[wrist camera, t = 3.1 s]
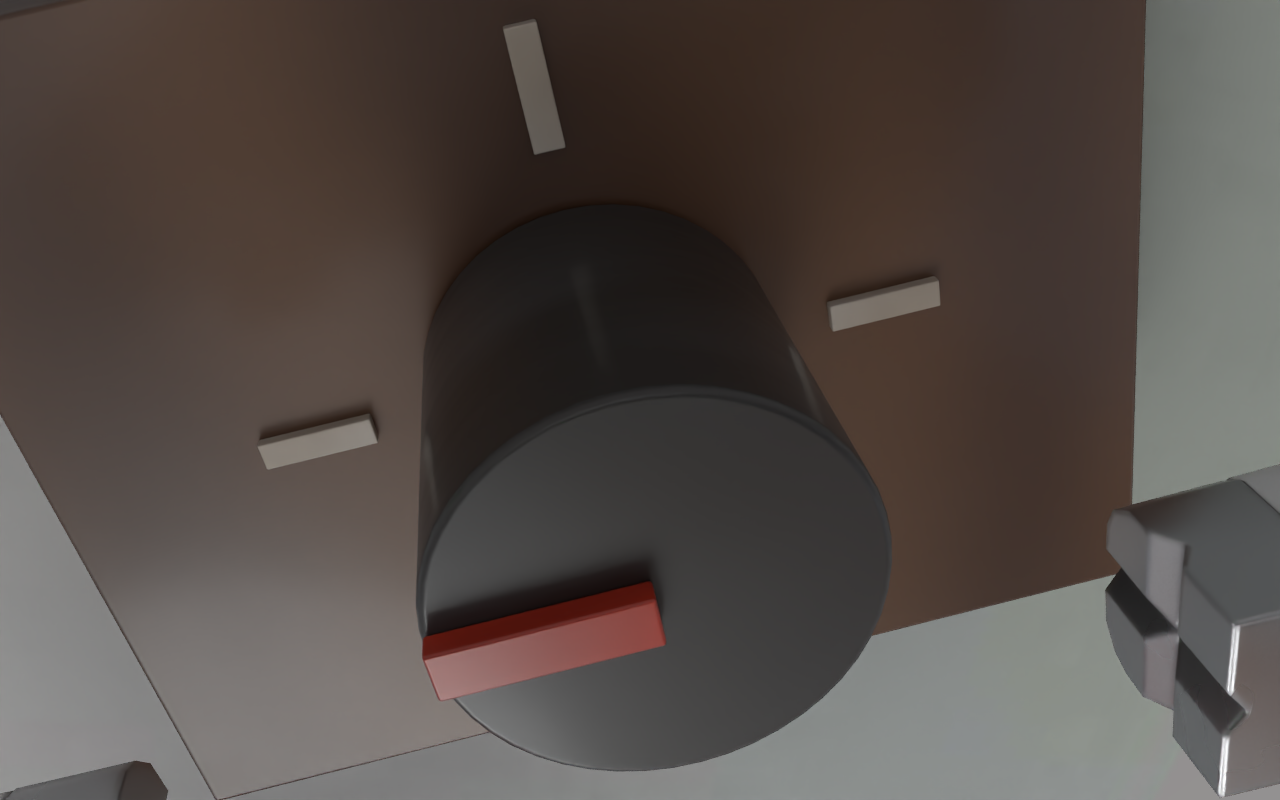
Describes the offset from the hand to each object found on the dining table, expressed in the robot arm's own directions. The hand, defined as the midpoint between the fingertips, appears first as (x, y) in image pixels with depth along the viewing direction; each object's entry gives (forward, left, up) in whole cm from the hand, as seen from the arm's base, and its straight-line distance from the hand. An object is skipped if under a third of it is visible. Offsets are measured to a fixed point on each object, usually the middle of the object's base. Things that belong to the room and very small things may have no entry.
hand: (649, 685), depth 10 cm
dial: (0, 0, -5) cm, 5 cm away
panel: (0, 0, -9) cm, 9 cm away
